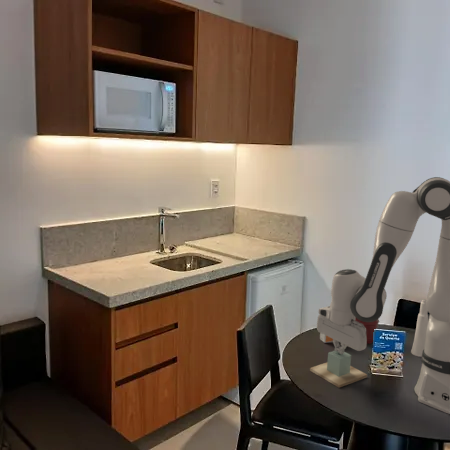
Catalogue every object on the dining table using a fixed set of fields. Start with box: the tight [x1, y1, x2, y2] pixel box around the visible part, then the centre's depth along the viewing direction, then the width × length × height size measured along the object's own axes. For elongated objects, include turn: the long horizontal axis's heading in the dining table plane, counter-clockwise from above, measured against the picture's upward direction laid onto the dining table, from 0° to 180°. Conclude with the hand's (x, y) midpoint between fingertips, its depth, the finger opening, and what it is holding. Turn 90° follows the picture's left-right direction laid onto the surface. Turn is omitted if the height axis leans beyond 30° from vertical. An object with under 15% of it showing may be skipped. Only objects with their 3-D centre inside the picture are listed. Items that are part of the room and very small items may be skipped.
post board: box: [309, 361, 368, 389], centre depth 171 cm, size 14×14×7 cm
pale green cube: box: [326, 350, 352, 377], centre depth 171 cm, size 6×6×7 cm
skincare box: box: [319, 332, 333, 343], centre depth 198 cm, size 6×4×12 cm
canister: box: [355, 318, 380, 345], centre depth 202 cm, size 13×13×18 cm
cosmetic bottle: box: [410, 299, 429, 358], centre depth 188 cm, size 6×6×22 cm
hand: (339, 352), depth 170 cm, fingers closed
